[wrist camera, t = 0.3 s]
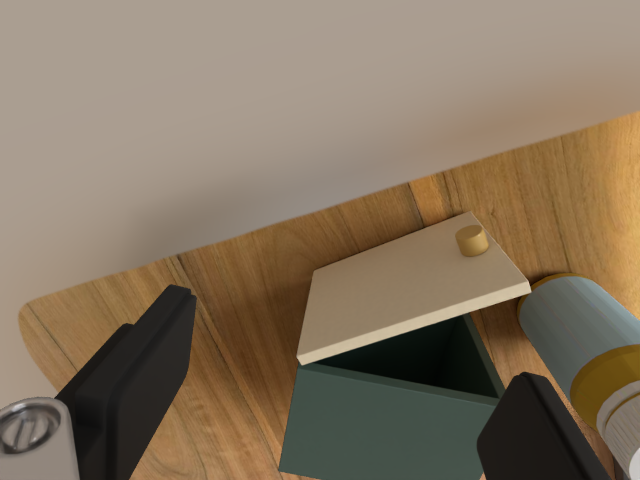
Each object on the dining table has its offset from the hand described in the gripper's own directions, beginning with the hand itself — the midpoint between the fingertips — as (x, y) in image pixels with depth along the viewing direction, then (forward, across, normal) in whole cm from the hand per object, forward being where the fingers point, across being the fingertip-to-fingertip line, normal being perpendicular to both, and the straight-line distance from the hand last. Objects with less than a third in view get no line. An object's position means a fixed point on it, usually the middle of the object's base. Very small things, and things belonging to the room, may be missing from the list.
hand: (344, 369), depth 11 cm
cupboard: (+22, -7, +14) cm, 27 cm away
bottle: (+22, -20, +6) cm, 31 cm away
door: (+21, -4, +4) cm, 22 cm away
